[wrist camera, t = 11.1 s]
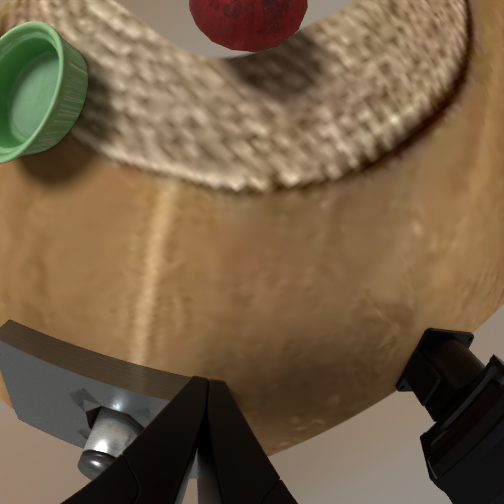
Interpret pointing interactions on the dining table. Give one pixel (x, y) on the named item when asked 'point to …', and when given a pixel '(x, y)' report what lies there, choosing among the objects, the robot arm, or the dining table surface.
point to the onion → (248, 21)
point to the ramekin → (38, 89)
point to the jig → (77, 385)
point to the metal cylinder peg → (107, 441)
